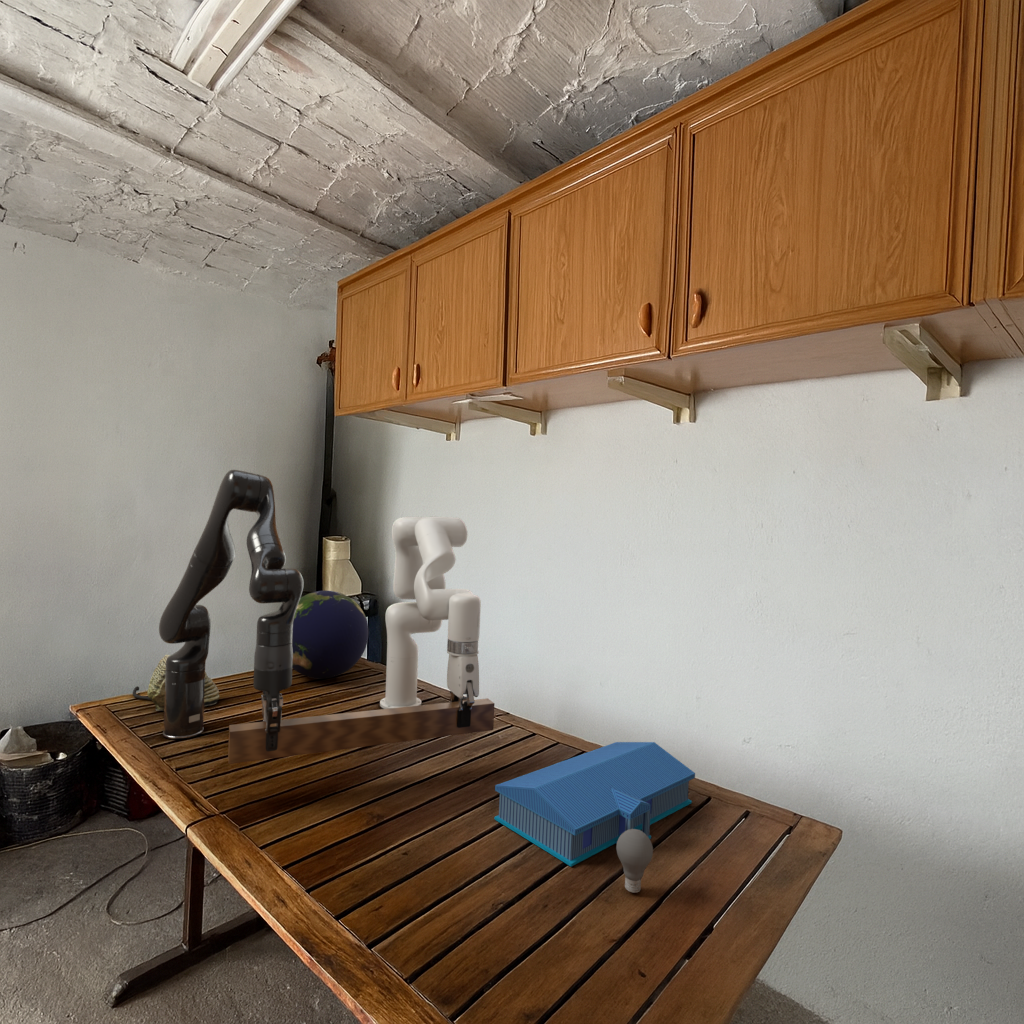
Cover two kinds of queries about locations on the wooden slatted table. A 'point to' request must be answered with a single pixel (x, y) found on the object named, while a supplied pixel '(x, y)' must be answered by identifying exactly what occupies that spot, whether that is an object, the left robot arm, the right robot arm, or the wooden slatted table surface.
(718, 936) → the wooden slatted table surface
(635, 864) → the light bulb
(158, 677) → the fossil
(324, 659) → the globe
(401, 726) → the bar
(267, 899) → the wooden slatted table surface
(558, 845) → the model building
